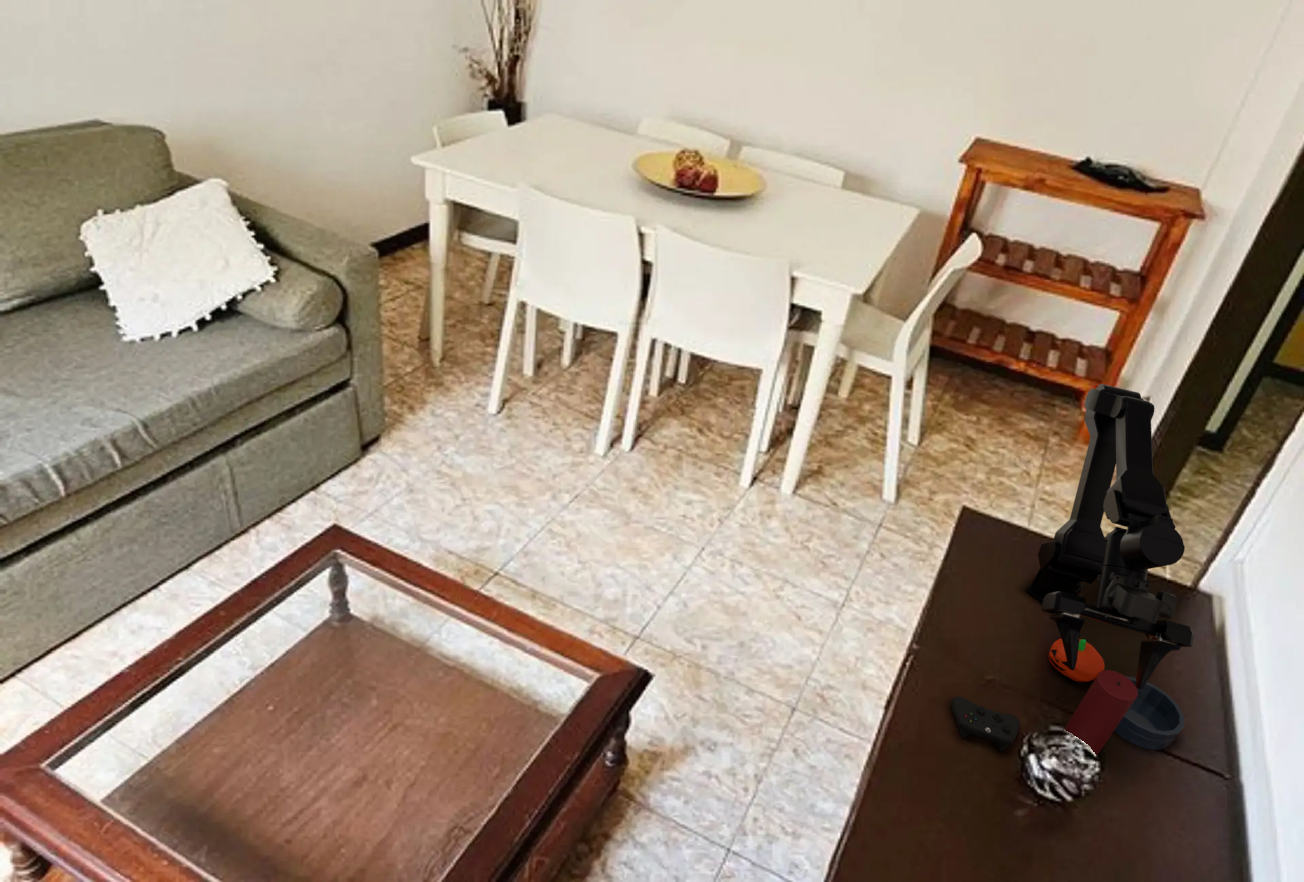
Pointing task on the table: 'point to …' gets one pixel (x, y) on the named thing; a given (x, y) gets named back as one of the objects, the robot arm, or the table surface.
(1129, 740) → the blue round dish
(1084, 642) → the pumpkin
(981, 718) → the gaming controller
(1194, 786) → the table surface
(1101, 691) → the candle
